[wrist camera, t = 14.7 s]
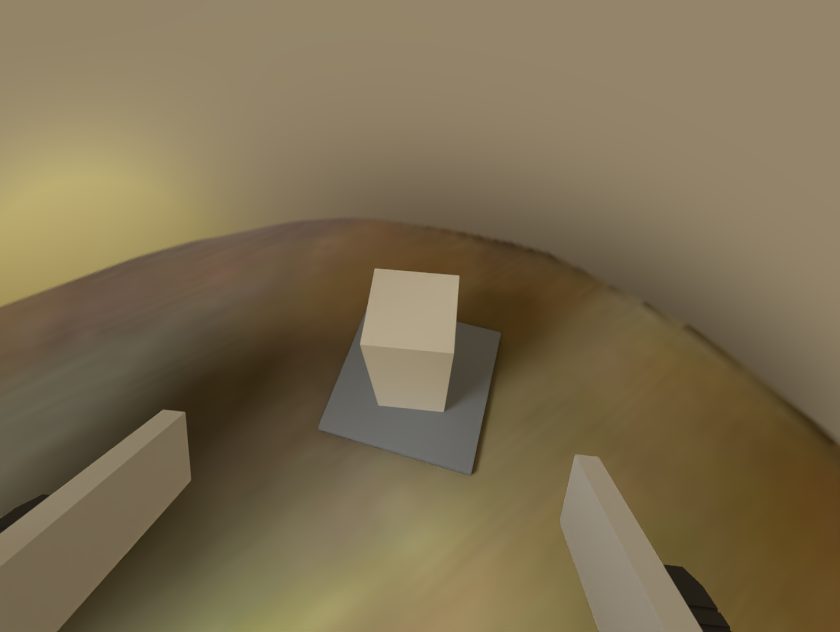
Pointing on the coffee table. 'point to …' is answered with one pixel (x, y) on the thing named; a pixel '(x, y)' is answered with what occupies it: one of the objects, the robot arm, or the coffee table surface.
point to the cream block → (410, 337)
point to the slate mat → (411, 428)
